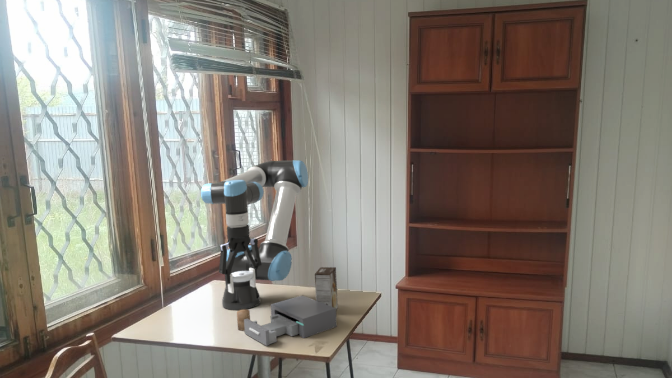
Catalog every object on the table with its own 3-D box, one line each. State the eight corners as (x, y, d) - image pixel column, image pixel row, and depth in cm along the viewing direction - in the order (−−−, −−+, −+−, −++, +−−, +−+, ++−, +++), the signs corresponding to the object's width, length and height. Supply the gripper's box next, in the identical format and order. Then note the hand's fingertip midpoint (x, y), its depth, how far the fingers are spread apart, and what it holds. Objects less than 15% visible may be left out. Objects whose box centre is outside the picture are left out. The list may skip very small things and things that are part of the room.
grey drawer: (243, 333, 168) (242, 319, 167) (277, 322, 176) (276, 309, 176) (265, 346, 157) (264, 331, 156) (300, 334, 165) (299, 320, 165)
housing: (271, 322, 178) (270, 304, 177) (303, 312, 187) (302, 295, 186) (303, 338, 162) (302, 319, 162) (336, 326, 171) (336, 308, 171)
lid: (225, 278, 172) (225, 274, 172) (246, 273, 177) (245, 269, 177) (236, 283, 166) (236, 279, 166) (257, 278, 171) (257, 273, 171)
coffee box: (321, 307, 192) (320, 266, 190) (338, 307, 190) (336, 266, 189) (316, 315, 183) (314, 273, 181) (333, 316, 181) (331, 273, 180)
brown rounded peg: (235, 328, 174) (234, 311, 173) (246, 324, 176) (245, 308, 176) (241, 331, 170) (240, 314, 170) (252, 328, 173) (251, 311, 172)
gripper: (214, 231, 160) (219, 299, 163) (269, 221, 173) (273, 284, 176) (204, 228, 166) (209, 294, 168) (258, 219, 179) (262, 280, 181)
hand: (242, 289), depth 172 cm, fingers closed on lid, 8 cm apart
